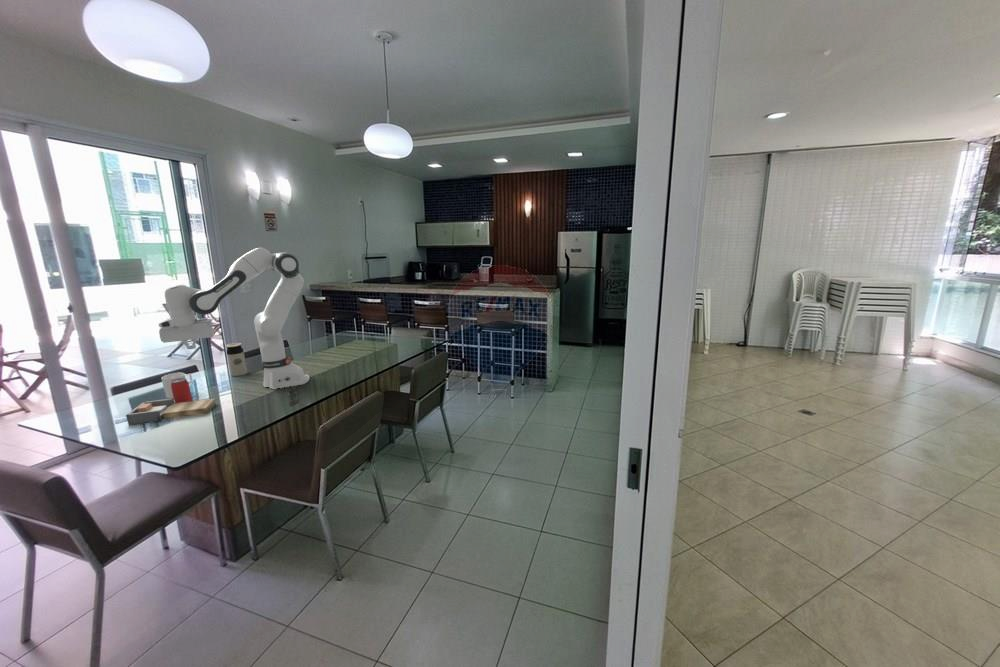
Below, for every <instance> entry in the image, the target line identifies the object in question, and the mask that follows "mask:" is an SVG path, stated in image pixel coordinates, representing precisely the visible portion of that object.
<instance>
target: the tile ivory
mask: <svg viewBox="0 0 1000 667" xmlns="http://www.w3.org/2000/svg"><path fill="white" fill-rule="evenodd" d="M166 408H167V406H166V405H165V406H157V407H152V408H151V409H150V410H149V411H155V410H159V411H160V413H161V412H163V411H164V410H165V409H166Z"/></svg>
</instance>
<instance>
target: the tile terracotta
mask: <svg viewBox="0 0 1000 667" xmlns="http://www.w3.org/2000/svg"><path fill="white" fill-rule="evenodd" d="M152 407H153V406H152V403H148V404H143V405H141V406H140V407H139V408H137V409H138V413H140V412H147V411H149V410H150V409H151V408H152Z"/></svg>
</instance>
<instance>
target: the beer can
mask: <svg viewBox="0 0 1000 667" xmlns="http://www.w3.org/2000/svg"><path fill="white" fill-rule="evenodd" d="M189 385H190V382H189V381H188V380H187V378H186V377H185V378H180V379H176V380H173V381H172V382H171V389H172V393H173V397H174V399H173V400H174V403H182V402H190V401H194V400H193V397H192V396H193V395H192V392H191V387H189Z"/></svg>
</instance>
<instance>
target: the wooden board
mask: <svg viewBox="0 0 1000 667" xmlns="http://www.w3.org/2000/svg"><path fill="white" fill-rule="evenodd" d="M216 404H217V402H216V399H215V398H208V399H200V400H199V399H198V400H193V401H190V402H182V403H175V402H174V404H173V405H172V406H171V407H169V408H168V409H167V410H166V411H165V412H164V413H162V414H163V417H164V419H163V420H170V419H179V418H185V417H186V418H187V417H194V416H195V417H196V416H201V415H202V416H203V415H207V414H209V413H210V411H211V410H212V409H213V408H214V407H215V405H216Z"/></svg>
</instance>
